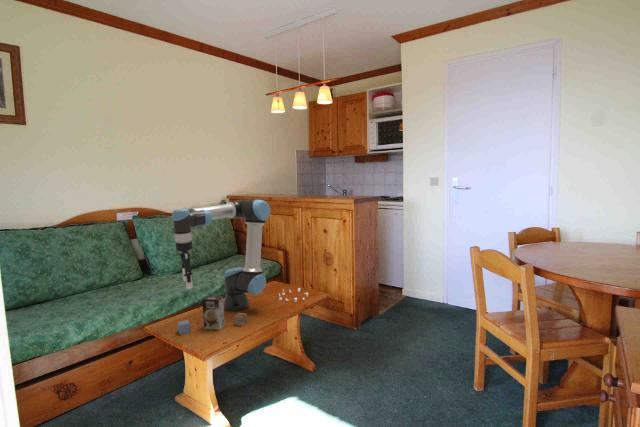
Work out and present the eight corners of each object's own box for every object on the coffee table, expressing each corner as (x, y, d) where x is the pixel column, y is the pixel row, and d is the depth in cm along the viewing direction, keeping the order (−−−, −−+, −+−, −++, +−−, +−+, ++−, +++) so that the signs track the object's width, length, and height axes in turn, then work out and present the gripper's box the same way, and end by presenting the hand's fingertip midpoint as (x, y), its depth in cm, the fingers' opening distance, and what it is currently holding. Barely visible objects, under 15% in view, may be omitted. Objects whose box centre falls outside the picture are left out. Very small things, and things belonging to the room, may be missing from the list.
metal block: (239, 321, 201) (238, 312, 201) (247, 322, 200) (246, 313, 199) (234, 325, 197) (233, 316, 196) (242, 326, 195) (241, 317, 194)
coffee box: (203, 329, 193) (201, 299, 191) (209, 324, 199) (207, 295, 197) (220, 330, 191) (218, 299, 189) (225, 324, 197) (223, 295, 195)
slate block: (187, 329, 194) (187, 319, 193) (190, 332, 190) (189, 322, 189) (177, 331, 191) (177, 322, 190) (180, 335, 187) (179, 325, 186)
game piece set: (292, 290, 251) (292, 284, 251) (314, 296, 239) (314, 290, 238) (271, 298, 236) (271, 292, 236) (294, 305, 224) (294, 299, 223)
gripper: (173, 238, 185) (177, 278, 188) (177, 247, 163) (182, 293, 166) (189, 236, 189) (192, 276, 192) (195, 245, 166) (199, 290, 169)
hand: (187, 284), depth 179 cm, fingers open, 13 cm apart
